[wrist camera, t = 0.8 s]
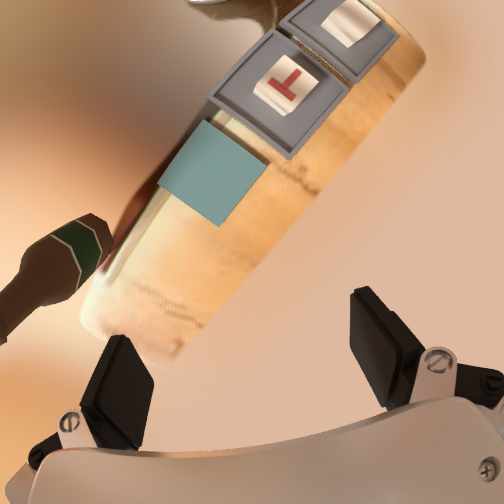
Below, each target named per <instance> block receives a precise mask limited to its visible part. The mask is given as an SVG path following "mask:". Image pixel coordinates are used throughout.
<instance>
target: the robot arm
mask: <svg viewBox="0 0 504 504" xmlns="http://www.w3.org/2000/svg"><path fill="white" fill-rule="evenodd" d="M183 1H185V2H189V3H195V4H213V3H219V2H224V1H227V0H183ZM350 348H351V350H352V352H353V354H354V356H355V358H356V359H357V361H358V363H359V365H360V367H361V369H362V371H363V373H364V374H365V377H366V378H367V380H368V382H369V384H370V386H371V388H372V390H373V392H374V394H375V395H376V397H377V400H378V402H379V403H380V405H381V407H386V409H387V412H384V413H381V414H379V415H376V416H373V417H370V418H367V419H364V420H361V421H359V422H355V423H352V424H349V425H346V426H342V427H339V428H336V429H332V430H329V431H325V432H321V433H318V434H314V435H309V436H305V437H301V438H297V439H292V440H287V441H282V442H277V443H271V444H265V445H258V446H252V447H244V448H235V449H226V450H214V451H198V452H149V451H138V449H139V447H141V445H142V442H143V436H144V431H145V426H146V421H147V416H148V411H149V407H150V402H151V398H152V393H153V389H154V381H153V378H152V377H151V375H150V374H149V372H148V370H147V368H146V367H145V365H144V363H143V362H142V360H141V358H140V357H139V355H138V353H137V351H136V349H135V348H134V346H133V344H132V342H131V340H130V339H129V338H128V337H126V336H125V335H123V334H122V335H114V336H111V337H110V339H109V341H108V343H107V345H106V347H105V349H104V351H103V353H102V355H101V357H100V359H99V362H98V364H97V366H96V368H95V370H94V372H93V374H92V377H91V379H90V381H89V383H88V386H87V388H86V390H85V393H84V395H83V397H82V400H81V402H80V404H79V405H80V406H81V407H82V408H81V411H79V410H77V409H69V410H67V411H65V412H64V413H62V415H61V416H60V417H59V419H58V421H57V431H58V432H56V433H55V434H53V435H52V436H50V437H49V438H47V439H45V440H44V441H43V442H41V443H39V444H37V445H36V446H34V447H33V448H32V450H31V451H30V453H29V456H28V461H29V464H27V463H25V464H24V465H23V466H22V467H21V469H20V470H19V471H18V472H17V473H16V474H15V475H14V476H13V477H12V478H11V480H10V481H9V482H8V483H7V485H6V488H5V494H6V496H7V498H8V500H9V502H10V503H11V504H504V375H503V373H501V372H500V371H498V370H494V369H488V368H482V367H476V366H470V365H464V364H459V363H457V358H456V356H455V354H454V353H453V352H452V351H451V350H449V349H447V348H444V347H432V348H429V349H427V350H426V349H425V348H424V346H423V345H422V344H421V343H420V341H419V340H418V339H417V338H416V337H415V335H414V334H413V333H412V332H411V331H410V329H409V328H408V327H407V326H406V325H405V323H404V322H403V321H402V320H401V319H400V318H399V317H398V315H397V314H396V313H395V312H394V311H390V310H389V309H388V308H387V307H386V305H385V304H384V303H383V302H382V301H381V300H380V298H379V297H378V296H377V295H376V294H375V293H374V292H373V291H372V290H371V288H370V287H369V286H365V287H361V288H357V289H355V290H354V293H352V294H351V295H350Z"/></svg>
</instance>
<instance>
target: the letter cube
mask: <svg viewBox="0 0 504 504" xmlns="http://www.w3.org/2000/svg"><path fill="white" fill-rule="evenodd" d="M318 82H319V81H317V80H316V79H315V78H314V77H313V76H311V75H310V74H309V73H308V72H307V71H305V70H304V69H303V68H301V67H300V66H299V65H298V64H296V63H295V62H294V61H292V60H291V59H290V58H288V57H287V56H286V55H283V56H282V57H281V58H280V59H279V60H278V62H277V63H276V64H275V65H274V66H273V67H272V68H271V69H270V70H269V71H268V72H267V73H266V74H265V75H264V76H263V77H262V78H261V79H260V80H259V81H258V83H257V84H256V86H255V88H254V91H253V93H254V94H255V95H257V96H258V97H259V98H261V99H262V100H263V101H265V102H266V103H267V104H269V105H270V106H271V107H272V108H274V109H275V110H276V111H278V112H279V113H280V114H281V115H283V116H285V115H287V114H289V113H290V112H292V111H293V110H294V109H295V108H296V107H297V106H298V104H299V103H300V102H301V101H302V100H303V99H304V98H305V97H306V95H307V94H308V93H309V92H310V91H311V90H312V89H313V88H314V87H315V86H316V84H317V83H318Z"/></svg>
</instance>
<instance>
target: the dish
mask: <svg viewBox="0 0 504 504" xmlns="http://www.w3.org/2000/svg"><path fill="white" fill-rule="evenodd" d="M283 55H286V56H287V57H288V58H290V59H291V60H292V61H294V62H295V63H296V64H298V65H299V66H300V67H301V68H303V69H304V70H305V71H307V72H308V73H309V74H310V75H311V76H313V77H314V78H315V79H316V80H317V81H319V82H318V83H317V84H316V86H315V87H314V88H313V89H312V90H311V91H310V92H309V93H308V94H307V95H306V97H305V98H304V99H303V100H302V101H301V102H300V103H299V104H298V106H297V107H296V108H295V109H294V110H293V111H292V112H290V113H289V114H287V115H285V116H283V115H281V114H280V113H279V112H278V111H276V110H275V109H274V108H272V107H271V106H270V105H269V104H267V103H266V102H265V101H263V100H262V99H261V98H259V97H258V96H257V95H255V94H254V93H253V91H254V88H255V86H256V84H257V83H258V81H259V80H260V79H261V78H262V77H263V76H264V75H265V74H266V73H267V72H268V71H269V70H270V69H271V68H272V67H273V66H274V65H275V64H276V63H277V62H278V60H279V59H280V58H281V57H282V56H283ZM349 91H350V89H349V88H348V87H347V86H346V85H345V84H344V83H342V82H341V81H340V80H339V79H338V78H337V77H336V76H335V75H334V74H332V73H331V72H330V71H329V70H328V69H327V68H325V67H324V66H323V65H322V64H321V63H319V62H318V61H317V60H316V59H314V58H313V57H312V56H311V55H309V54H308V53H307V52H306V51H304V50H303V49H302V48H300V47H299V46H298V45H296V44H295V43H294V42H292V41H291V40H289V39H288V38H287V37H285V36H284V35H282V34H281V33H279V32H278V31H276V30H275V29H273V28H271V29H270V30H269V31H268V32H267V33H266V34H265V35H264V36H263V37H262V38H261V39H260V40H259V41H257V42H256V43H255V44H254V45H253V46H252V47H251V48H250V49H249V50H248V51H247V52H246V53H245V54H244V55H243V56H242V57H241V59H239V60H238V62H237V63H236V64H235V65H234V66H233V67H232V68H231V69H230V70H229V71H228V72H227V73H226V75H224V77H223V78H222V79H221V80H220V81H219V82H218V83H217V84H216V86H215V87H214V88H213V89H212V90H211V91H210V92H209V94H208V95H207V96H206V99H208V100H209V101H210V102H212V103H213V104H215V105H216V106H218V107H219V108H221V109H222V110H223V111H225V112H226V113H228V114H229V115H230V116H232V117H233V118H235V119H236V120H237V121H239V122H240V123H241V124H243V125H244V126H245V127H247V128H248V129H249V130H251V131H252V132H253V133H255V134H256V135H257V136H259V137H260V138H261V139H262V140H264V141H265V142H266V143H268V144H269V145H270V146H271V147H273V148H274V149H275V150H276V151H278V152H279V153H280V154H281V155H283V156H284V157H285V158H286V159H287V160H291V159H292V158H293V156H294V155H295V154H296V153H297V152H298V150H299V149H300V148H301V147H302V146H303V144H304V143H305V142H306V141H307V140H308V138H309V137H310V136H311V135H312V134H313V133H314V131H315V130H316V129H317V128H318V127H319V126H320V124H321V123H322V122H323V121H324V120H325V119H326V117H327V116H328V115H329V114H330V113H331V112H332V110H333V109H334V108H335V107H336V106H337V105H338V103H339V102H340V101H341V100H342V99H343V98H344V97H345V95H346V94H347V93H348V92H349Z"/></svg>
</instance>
